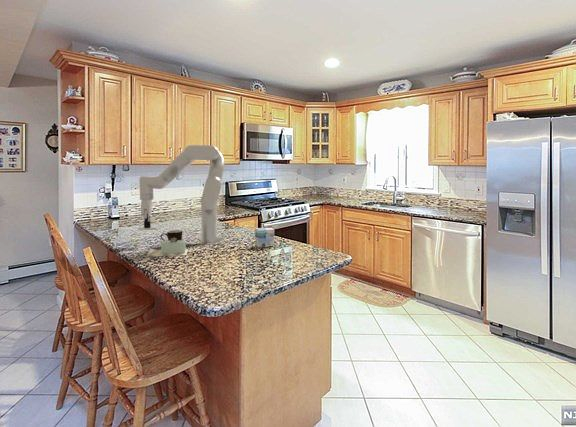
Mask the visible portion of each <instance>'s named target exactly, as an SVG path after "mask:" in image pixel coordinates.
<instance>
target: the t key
mask: <svg viewBox="0 0 576 427" xmlns="http://www.w3.org/2000/svg"><path fill="white" fill-rule="evenodd" d="M137 230H138V231H156V230H157V226H154V227H152V226H151V227H150V228H144V226H143V227H142V226H141V227H138V228H137Z"/></svg>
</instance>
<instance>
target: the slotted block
mask: <svg viewBox="0 0 576 427" xmlns="http://www.w3.org/2000/svg"><path fill="white" fill-rule="evenodd" d="M160 245H161V246H160V248H161V249H160V250H161V254H176V253H185V251H186V249H187V248H186V247H187V246H186V245H187V244H186V239H182V240H177V242H171V240H168V239H167V240H165V241H163V240H162V241H161V242H160Z"/></svg>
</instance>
